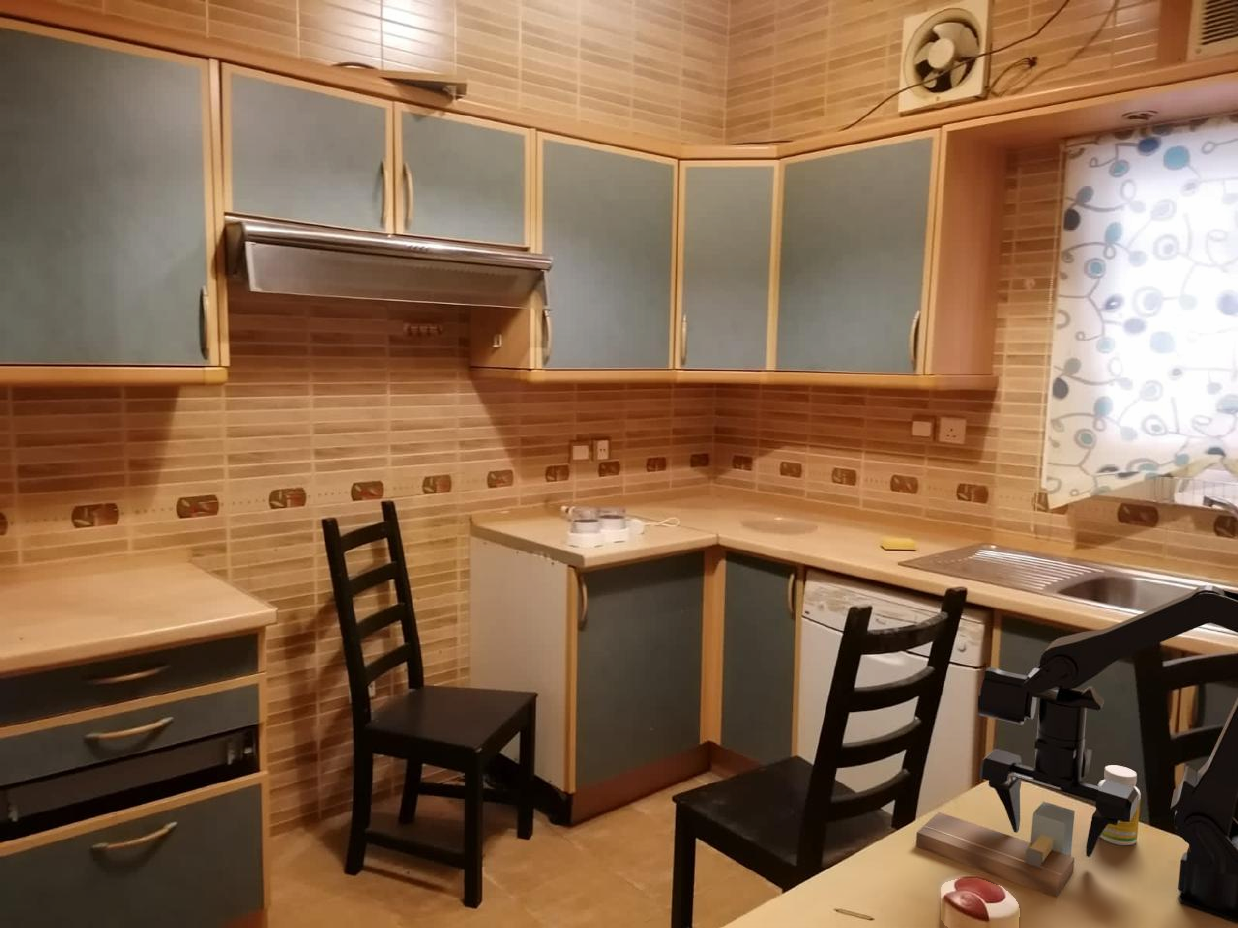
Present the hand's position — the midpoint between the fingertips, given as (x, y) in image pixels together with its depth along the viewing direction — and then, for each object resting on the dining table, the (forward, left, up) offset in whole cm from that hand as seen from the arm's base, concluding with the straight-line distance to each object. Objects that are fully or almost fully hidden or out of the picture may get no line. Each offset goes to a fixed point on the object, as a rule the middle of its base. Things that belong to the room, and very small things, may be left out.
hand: (1051, 843), depth 122 cm
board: (+5, +7, -2) cm, 9 cm away
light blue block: (0, +3, -1) cm, 4 cm away
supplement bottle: (-6, -12, -2) cm, 13 cm away
